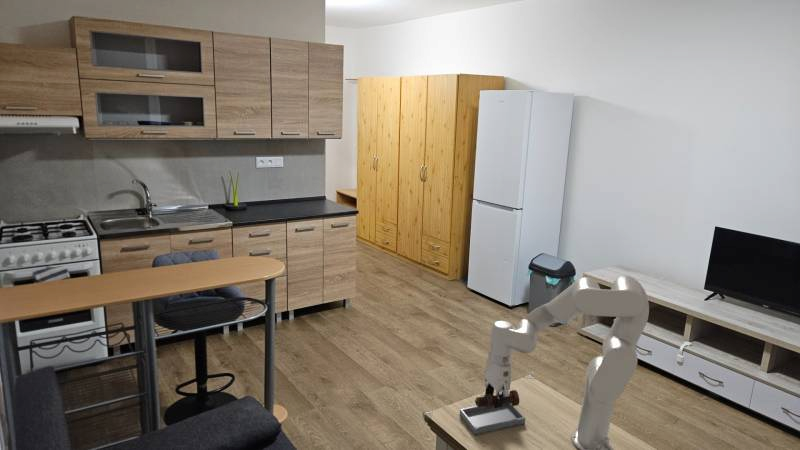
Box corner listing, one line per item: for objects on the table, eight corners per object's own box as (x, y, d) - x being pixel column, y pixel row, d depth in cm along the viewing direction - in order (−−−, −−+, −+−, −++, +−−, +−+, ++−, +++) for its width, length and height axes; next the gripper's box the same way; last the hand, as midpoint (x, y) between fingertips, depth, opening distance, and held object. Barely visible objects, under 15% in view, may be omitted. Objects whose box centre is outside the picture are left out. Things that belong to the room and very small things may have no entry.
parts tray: (524, 423, 185) (525, 417, 185) (475, 435, 178) (475, 429, 177) (507, 404, 195) (507, 399, 195) (459, 415, 188) (460, 409, 187)
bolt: (473, 407, 186) (513, 402, 189) (478, 413, 181) (519, 408, 184) (473, 391, 185) (513, 387, 188) (478, 397, 180) (519, 392, 183)
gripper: (523, 368, 173) (516, 414, 179) (495, 342, 188) (490, 386, 194) (503, 371, 170) (497, 418, 176) (477, 345, 186) (472, 389, 191)
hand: (493, 401), depth 185 cm, fingers closed on bolt, 5 cm apart
